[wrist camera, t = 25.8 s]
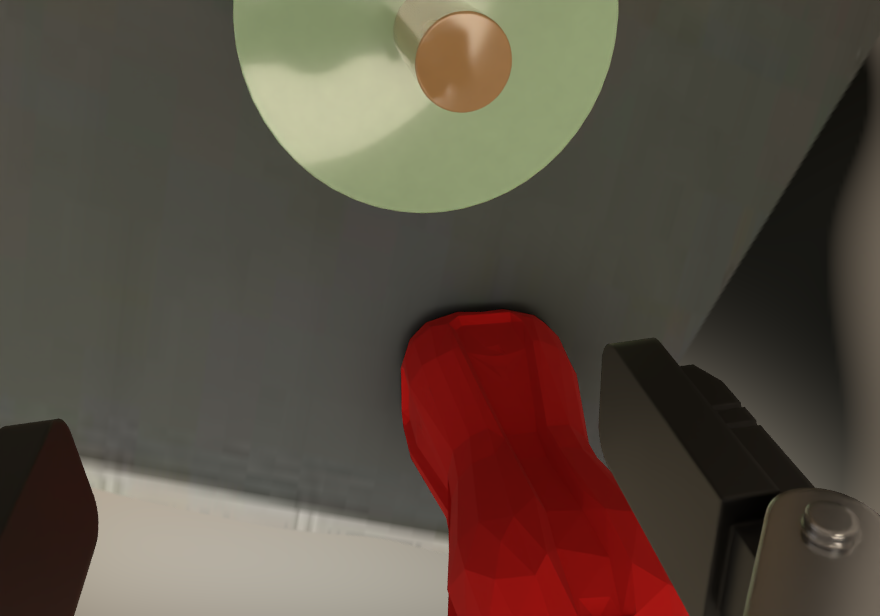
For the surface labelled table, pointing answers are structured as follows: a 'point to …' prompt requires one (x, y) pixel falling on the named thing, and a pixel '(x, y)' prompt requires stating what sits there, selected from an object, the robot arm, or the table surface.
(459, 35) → the lid
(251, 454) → the table surface
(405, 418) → the water bottle
